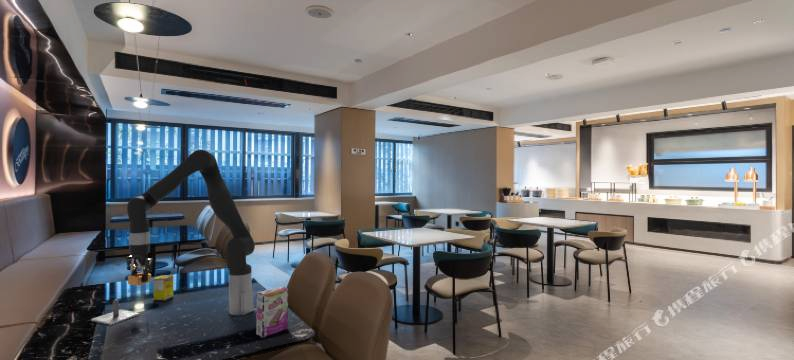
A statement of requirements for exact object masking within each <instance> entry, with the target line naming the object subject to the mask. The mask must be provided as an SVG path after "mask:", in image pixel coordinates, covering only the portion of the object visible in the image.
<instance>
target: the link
mask: <svg viewBox="0 0 794 360" xmlns="http://www.w3.org/2000/svg"><path fill="white" fill-rule="evenodd" d="M149 283H152V274H151V273H148V281H147V282H144V283H143V282H142V272H138V274H134V275H131V274H129V275H127V285H131V286H132V285H133V286H139V287H140V286H141V285H145V284H149Z"/></svg>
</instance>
